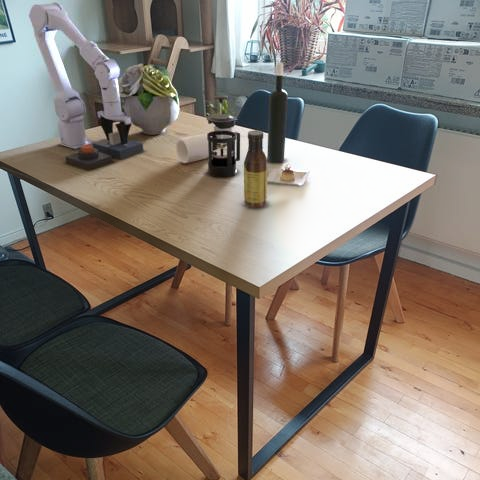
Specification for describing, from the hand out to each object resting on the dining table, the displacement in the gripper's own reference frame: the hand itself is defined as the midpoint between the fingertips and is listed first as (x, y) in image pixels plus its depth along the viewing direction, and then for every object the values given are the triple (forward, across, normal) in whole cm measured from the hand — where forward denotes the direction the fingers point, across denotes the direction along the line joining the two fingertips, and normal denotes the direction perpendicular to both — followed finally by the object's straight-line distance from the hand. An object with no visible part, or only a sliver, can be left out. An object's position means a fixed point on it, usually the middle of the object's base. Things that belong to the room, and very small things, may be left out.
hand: (117, 141), depth 174 cm
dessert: (+4, -63, -13) cm, 64 cm away
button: (0, -1, +14) cm, 14 cm away
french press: (+4, -43, -6) cm, 44 cm away
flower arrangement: (+4, +7, -25) cm, 26 cm away
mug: (+4, -26, -10) cm, 28 cm away
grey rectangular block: (0, 0, 0) cm, 0 cm away
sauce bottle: (+4, -66, +9) cm, 67 cm away
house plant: (+4, -22, -31) cm, 38 cm away
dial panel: (+3, 0, 0) cm, 3 cm away
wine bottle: (+4, -50, -26) cm, 56 cm away
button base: (+3, -1, +14) cm, 14 cm away
